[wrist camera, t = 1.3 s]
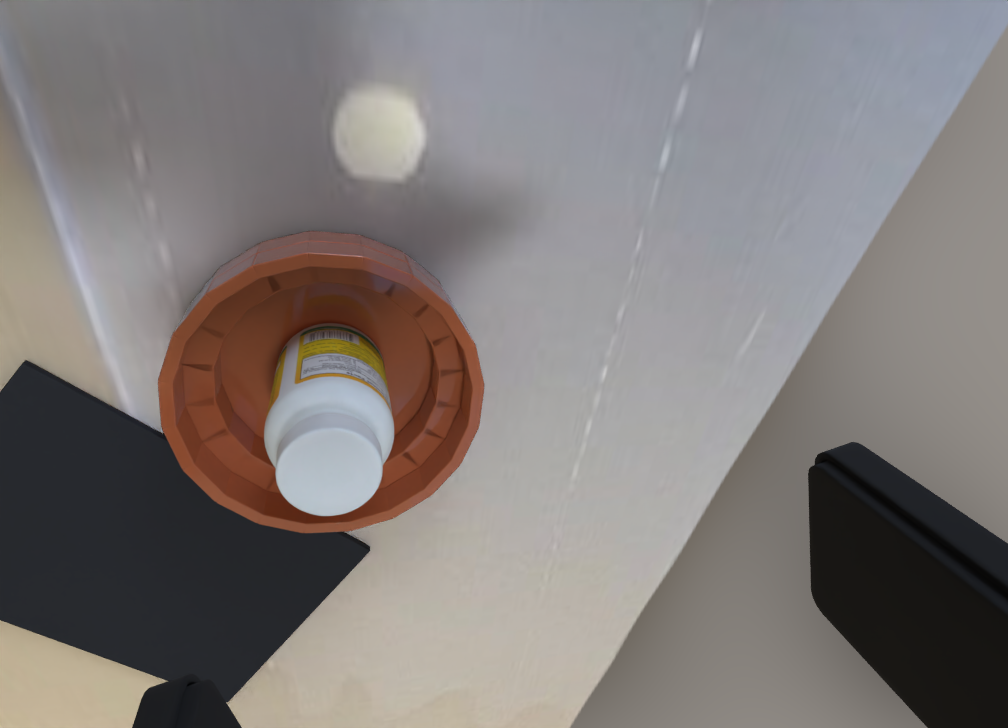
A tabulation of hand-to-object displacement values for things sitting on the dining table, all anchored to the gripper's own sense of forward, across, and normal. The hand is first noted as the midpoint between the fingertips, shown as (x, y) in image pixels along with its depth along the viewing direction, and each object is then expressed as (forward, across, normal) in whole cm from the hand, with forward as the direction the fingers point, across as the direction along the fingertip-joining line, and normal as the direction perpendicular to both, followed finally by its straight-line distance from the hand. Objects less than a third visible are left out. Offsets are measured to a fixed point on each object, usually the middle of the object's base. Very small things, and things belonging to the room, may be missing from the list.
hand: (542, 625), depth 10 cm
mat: (+25, +18, +12) cm, 33 cm away
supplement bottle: (+25, +5, +5) cm, 26 cm away
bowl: (+25, +5, +5) cm, 26 cm away
